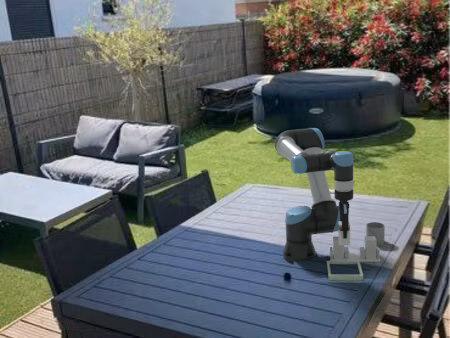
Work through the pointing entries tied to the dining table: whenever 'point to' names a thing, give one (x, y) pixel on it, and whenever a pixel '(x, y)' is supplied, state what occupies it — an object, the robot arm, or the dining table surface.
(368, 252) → the block
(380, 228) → the cup
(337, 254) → the block
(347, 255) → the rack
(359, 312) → the dining table surface
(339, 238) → the block
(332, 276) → the tray
